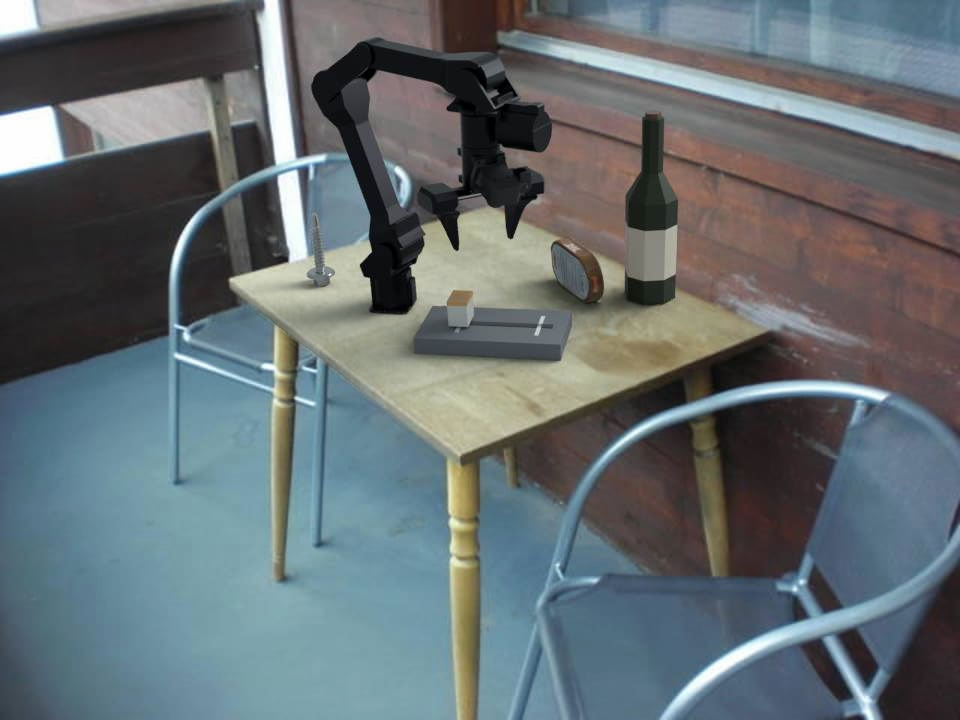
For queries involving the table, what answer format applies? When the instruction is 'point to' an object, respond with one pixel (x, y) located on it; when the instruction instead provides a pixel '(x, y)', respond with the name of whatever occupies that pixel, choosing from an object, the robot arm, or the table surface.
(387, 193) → the robot arm
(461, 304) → the fader
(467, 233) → the table surface
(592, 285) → the tin
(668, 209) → the wine bottle
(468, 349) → the fader board
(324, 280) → the screw
